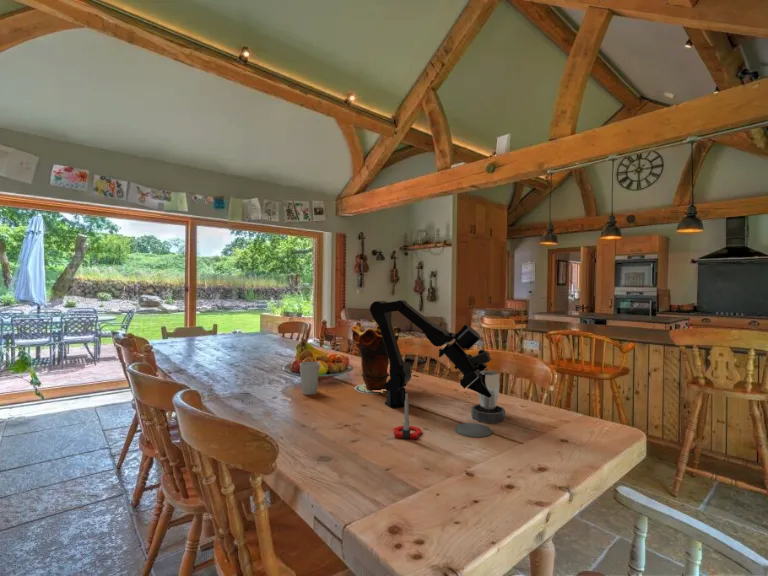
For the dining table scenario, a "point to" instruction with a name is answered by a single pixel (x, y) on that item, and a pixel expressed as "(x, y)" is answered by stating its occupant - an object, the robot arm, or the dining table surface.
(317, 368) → the cup
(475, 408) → the ring holder
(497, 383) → the beer glass
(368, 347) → the decorative vase
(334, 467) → the dining table surface
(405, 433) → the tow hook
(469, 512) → the dining table surface
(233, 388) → the dining table surface
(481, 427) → the coaster
